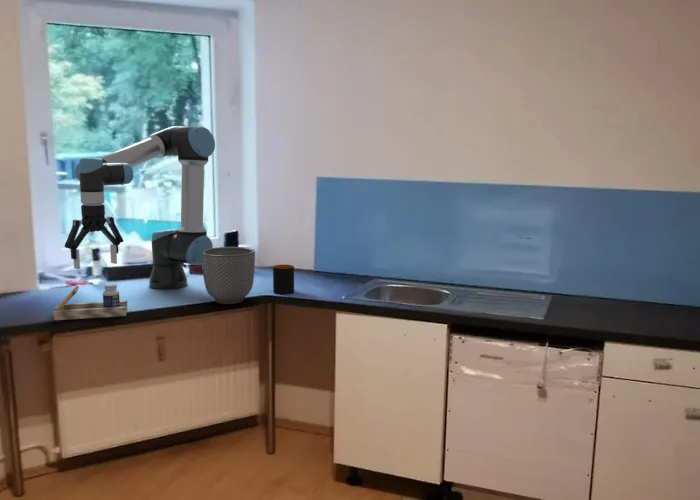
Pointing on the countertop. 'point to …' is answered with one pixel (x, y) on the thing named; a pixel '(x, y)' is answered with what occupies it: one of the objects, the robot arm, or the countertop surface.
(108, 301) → the pill bottle
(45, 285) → the countertop surface
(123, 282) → the countertop surface
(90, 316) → the wooden tray
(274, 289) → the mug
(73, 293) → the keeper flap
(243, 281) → the planter
